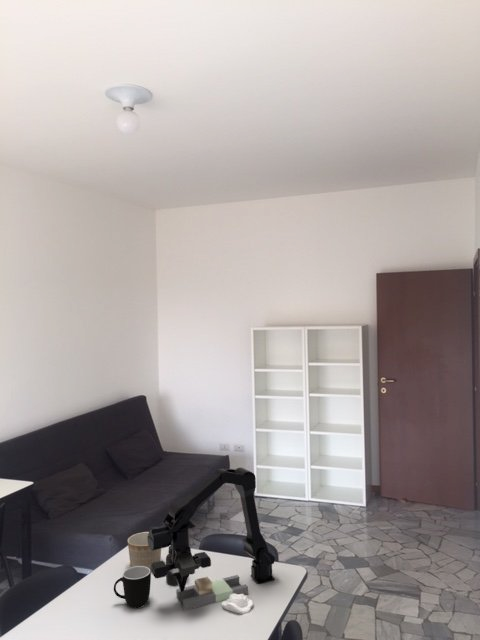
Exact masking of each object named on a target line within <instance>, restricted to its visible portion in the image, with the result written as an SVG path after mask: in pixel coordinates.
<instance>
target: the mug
mask: <svg viewBox="0 0 480 640" xmlns="http://www.w3.org/2000/svg"><path fill="white" fill-rule="evenodd" d="M151 576H152V572H151V571H150V569H149V568H148V567H145V566H135V567H131V566H130V567H129V568H126V569H125V570H124V571H123V573H122V577H120V578H118V579H117V580H116V581H115V582H114V584H113V592H114V594H115V596H116V597H118V598H120V599H123V600H125V603H126V605H127V606H128V608H131V609H140V608H143V607H145V606H146V605H147V604H148V601H149V599H150V593H151V582H152V581H151V579H152V578H151ZM120 582H122V585H123V594H120V593H119V592H118V590H117V585H118V584H119V583H120Z"/></svg>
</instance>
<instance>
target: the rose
mask: <svg viewBox="0 0 480 640" xmlns="http://www.w3.org/2000/svg"><path fill="white" fill-rule="evenodd" d="M253 605H254V601H253V599H251V598H248V596H247V595H244V594H231V595H230V596H229V599H227V600H223V601H221V606H222V608H223V609H224V610H225V611H226V610H228V611H230V612H232V613H233V612H234V613H236V614H240V615H242V614H243V615H245V614H247V613H249V612H250V611H251V608H252V607H253Z"/></svg>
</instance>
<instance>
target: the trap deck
mask: <svg viewBox="0 0 480 640" xmlns="http://www.w3.org/2000/svg"><path fill="white" fill-rule="evenodd" d="M211 582H212V592H209V593H205V594H201V595H199V594H198V592H197V591H196V589H195V584H193V585H189V586H185V588H184V591H182V592H181V591H180V588H177V589H176V590H175V593H176V599H177V600H178V602H179V603H180V605H181V606H182V608H183V610H184V611H188V610H191V609H195V608H199V607H204V606H207V605H211V604H215V603H219V602H223V601H226V600H227V599H229V596H230V595H231V594H244V595H246V596H247V595H249V587H248V585H247V584H242V585H241V583H240V576H239V575H238V574H235V575H232V576H228V577H222V578H219V579H214V580H211Z"/></svg>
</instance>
